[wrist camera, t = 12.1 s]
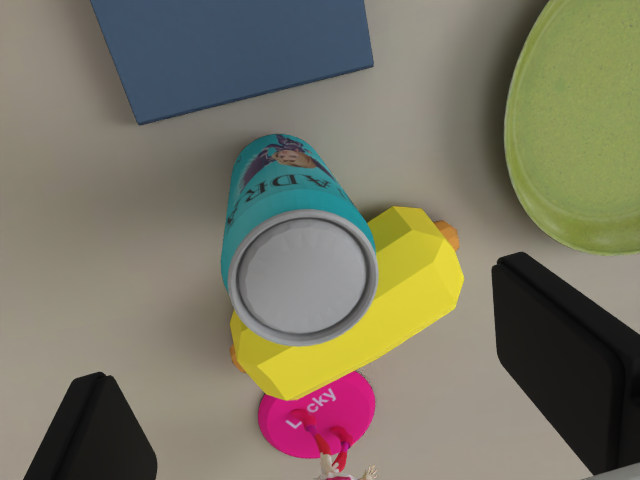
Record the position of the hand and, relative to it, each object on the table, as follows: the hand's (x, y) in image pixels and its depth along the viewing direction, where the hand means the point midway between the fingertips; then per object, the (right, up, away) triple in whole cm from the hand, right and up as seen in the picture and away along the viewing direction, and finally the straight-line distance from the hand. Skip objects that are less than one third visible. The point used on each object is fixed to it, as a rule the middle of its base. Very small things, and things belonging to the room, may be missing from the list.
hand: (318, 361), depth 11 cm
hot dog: (+1, 0, +22) cm, 22 cm away
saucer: (+21, +13, +20) cm, 31 cm away
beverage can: (-3, +7, +18) cm, 20 cm away
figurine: (0, -11, +26) cm, 28 cm away
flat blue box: (-5, +15, +14) cm, 21 cm away
